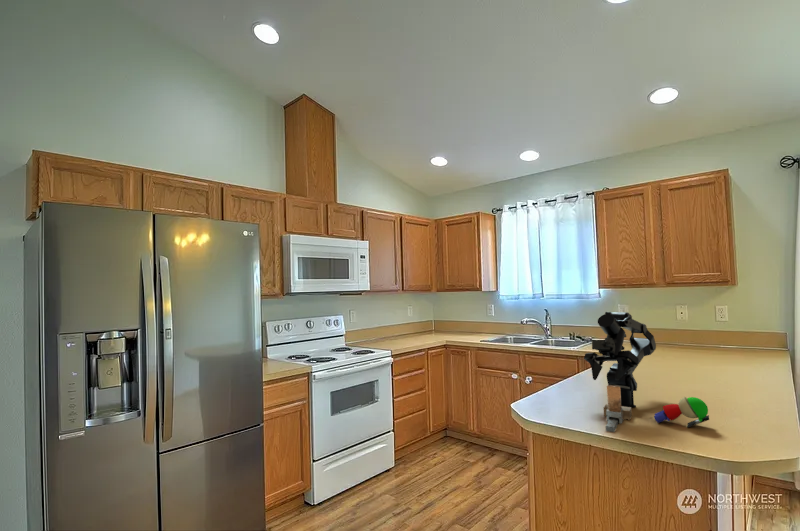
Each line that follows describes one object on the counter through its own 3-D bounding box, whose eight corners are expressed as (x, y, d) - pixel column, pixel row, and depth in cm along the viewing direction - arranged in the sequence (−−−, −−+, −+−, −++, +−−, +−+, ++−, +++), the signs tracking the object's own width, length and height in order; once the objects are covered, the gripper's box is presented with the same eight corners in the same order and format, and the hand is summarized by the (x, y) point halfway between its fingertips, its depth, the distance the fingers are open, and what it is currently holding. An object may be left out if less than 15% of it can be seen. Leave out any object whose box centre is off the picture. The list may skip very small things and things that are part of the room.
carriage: (609, 417, 143) (607, 384, 143) (623, 419, 140) (621, 385, 141) (606, 421, 139) (605, 387, 139) (621, 423, 136) (619, 388, 137)
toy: (665, 437, 134) (714, 419, 127) (650, 413, 137) (697, 394, 130) (667, 429, 141) (713, 412, 134) (652, 407, 144) (697, 389, 136)
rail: (612, 418, 143) (612, 413, 143) (620, 419, 142) (620, 414, 142) (605, 430, 131) (605, 425, 131) (614, 432, 129) (614, 427, 129)
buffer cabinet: (606, 412, 149) (605, 403, 149) (631, 416, 145) (631, 406, 145) (603, 416, 145) (603, 406, 145) (630, 420, 141) (629, 409, 141)
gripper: (579, 332, 162) (568, 368, 155) (622, 327, 146) (613, 367, 139) (598, 347, 165) (589, 383, 158) (643, 344, 149) (634, 384, 142)
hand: (605, 379), depth 149 cm, fingers open, 9 cm apart
